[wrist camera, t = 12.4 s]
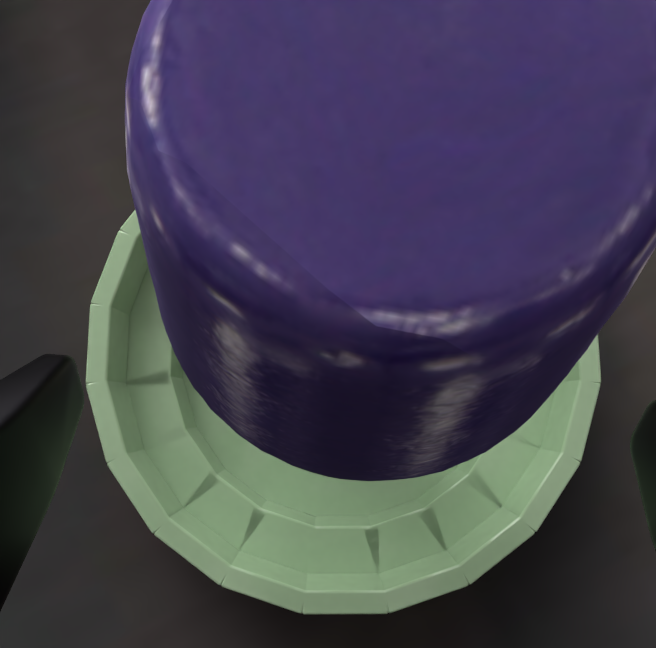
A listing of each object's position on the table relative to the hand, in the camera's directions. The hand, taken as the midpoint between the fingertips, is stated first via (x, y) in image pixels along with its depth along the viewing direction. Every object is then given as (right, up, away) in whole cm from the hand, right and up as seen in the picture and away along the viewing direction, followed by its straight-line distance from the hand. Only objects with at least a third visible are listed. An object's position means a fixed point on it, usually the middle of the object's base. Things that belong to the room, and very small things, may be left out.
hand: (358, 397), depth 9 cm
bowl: (0, 0, +11) cm, 11 cm away
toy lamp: (0, 0, +10) cm, 10 cm away
